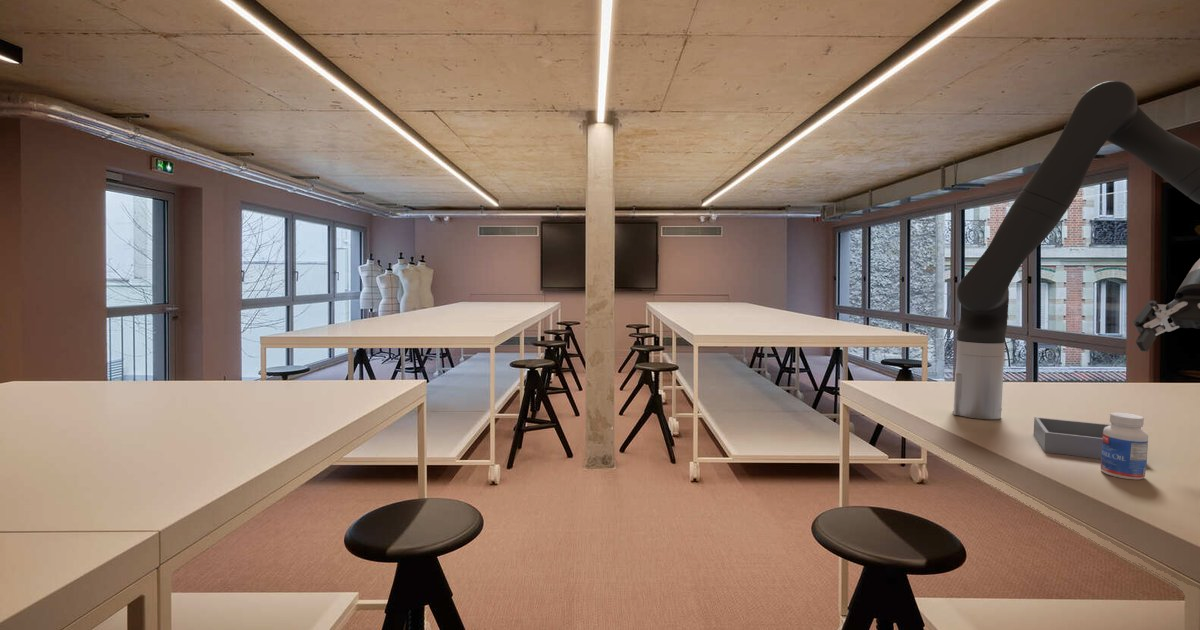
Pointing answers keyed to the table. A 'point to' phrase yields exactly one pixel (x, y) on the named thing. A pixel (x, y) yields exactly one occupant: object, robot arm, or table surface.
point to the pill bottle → (1124, 447)
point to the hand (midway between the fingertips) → (1172, 350)
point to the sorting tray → (1070, 437)
